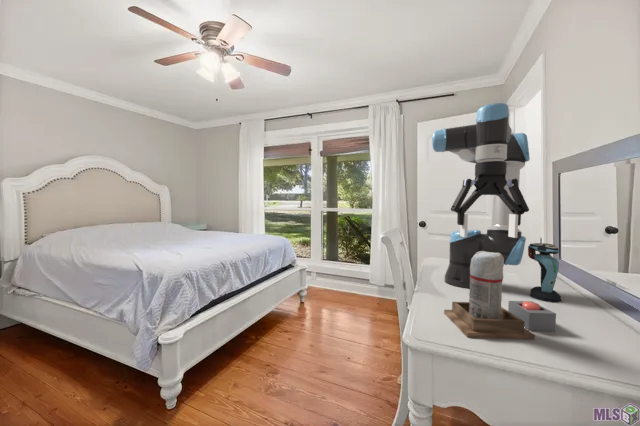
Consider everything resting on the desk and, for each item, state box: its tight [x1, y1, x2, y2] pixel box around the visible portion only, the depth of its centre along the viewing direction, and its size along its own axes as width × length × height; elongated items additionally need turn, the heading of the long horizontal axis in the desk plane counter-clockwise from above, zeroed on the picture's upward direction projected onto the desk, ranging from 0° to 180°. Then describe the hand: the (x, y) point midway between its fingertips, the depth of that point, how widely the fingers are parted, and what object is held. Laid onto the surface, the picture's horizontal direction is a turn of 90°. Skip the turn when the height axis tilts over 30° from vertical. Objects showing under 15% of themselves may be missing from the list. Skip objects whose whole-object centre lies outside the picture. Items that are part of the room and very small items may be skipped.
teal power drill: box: [527, 242, 562, 303], centre depth 101 cm, size 9×12×20 cm
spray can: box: [468, 251, 505, 319], centre depth 77 cm, size 8×8×20 cm
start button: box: [522, 300, 541, 310], centre depth 79 cm, size 4×4×2 cm
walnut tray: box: [443, 301, 536, 340], centre depth 78 cm, size 15×17×4 cm
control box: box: [507, 300, 557, 332], centre depth 79 cm, size 9×7×5 cm
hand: (487, 237), depth 77 cm, fingers open, 13 cm apart
